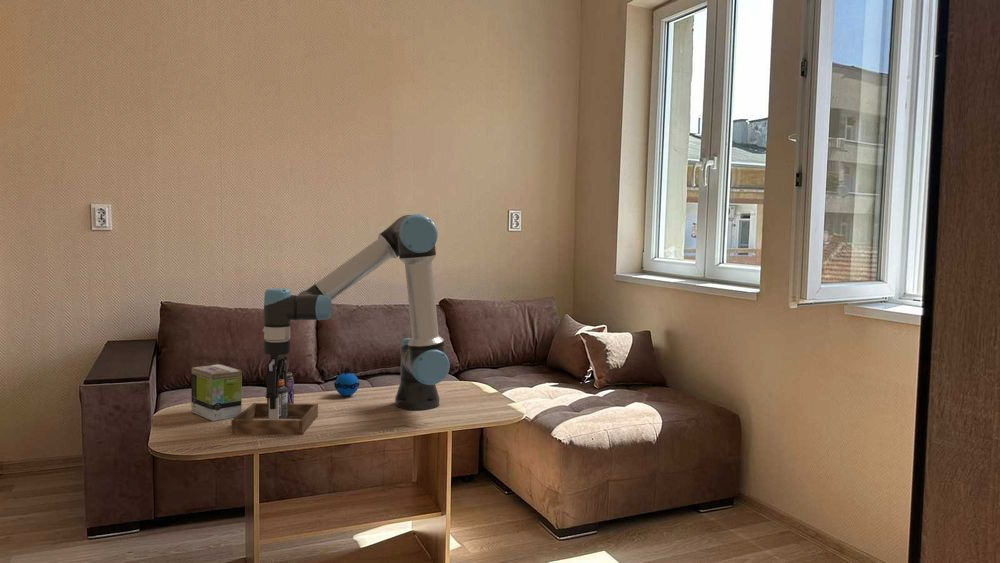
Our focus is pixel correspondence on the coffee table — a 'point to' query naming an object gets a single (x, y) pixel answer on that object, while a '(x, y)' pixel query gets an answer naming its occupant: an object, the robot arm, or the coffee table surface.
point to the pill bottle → (281, 400)
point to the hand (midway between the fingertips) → (276, 416)
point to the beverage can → (290, 388)
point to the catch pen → (275, 427)
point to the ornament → (346, 383)
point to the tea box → (216, 392)
